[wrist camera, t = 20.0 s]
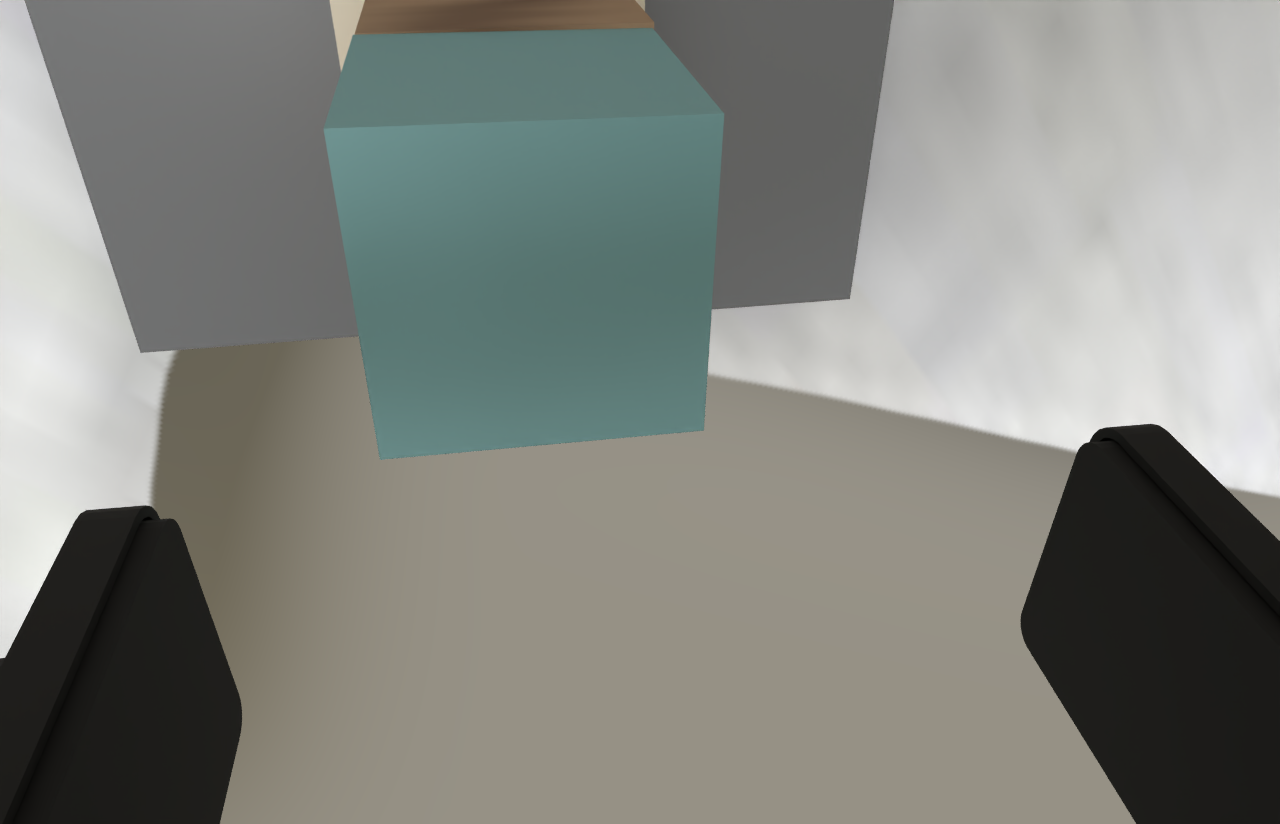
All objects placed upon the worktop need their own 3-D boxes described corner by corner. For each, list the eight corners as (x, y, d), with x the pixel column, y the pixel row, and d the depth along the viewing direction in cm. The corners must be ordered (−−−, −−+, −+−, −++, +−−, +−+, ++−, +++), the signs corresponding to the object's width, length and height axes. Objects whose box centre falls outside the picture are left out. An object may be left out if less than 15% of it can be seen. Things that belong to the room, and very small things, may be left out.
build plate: (900, -209, 25) (925, -208, 23) (834, 279, 33) (850, 299, 31) (-20, -218, 21) (-48, -217, 20) (153, 328, 29) (139, 353, 28)
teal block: (652, 27, 20) (724, 113, 15) (646, 289, 23) (703, 430, 18) (352, 34, 19) (323, 128, 14) (392, 306, 22) (380, 459, 17)
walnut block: (610, -29, 24) (654, 22, 20) (613, 194, 28) (651, 285, 23) (371, -22, 24) (354, 33, 19) (404, 207, 27) (397, 305, 22)
